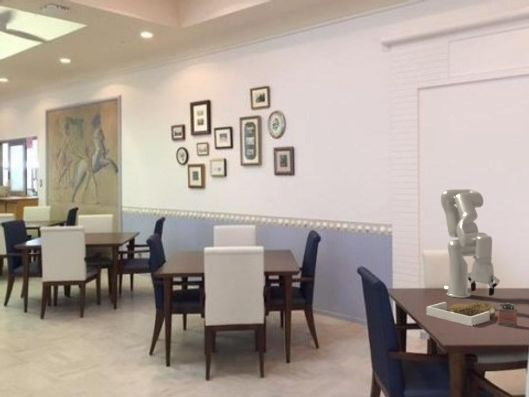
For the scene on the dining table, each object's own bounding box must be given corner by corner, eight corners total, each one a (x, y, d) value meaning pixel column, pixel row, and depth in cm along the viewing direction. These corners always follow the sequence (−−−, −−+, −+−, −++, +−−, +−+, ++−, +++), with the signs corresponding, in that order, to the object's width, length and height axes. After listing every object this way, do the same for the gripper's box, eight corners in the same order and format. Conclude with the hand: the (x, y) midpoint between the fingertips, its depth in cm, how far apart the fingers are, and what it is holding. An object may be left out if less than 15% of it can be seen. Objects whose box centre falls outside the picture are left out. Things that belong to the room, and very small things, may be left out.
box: (426, 314, 249) (426, 306, 249) (444, 309, 258) (444, 301, 258) (471, 326, 230) (471, 317, 229) (489, 320, 238) (489, 311, 238)
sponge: (492, 317, 248) (450, 305, 255) (496, 302, 246) (453, 291, 253) (492, 329, 237) (447, 316, 244) (496, 314, 234) (451, 302, 241)
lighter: (516, 324, 231) (516, 302, 230) (517, 326, 228) (517, 304, 227) (497, 323, 233) (497, 301, 233) (497, 325, 230) (498, 303, 230)
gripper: (463, 258, 261) (462, 290, 263) (495, 264, 247) (494, 298, 249) (471, 255, 265) (470, 288, 267) (503, 261, 251) (502, 295, 253)
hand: (482, 293), depth 258 cm, fingers open, 9 cm apart
